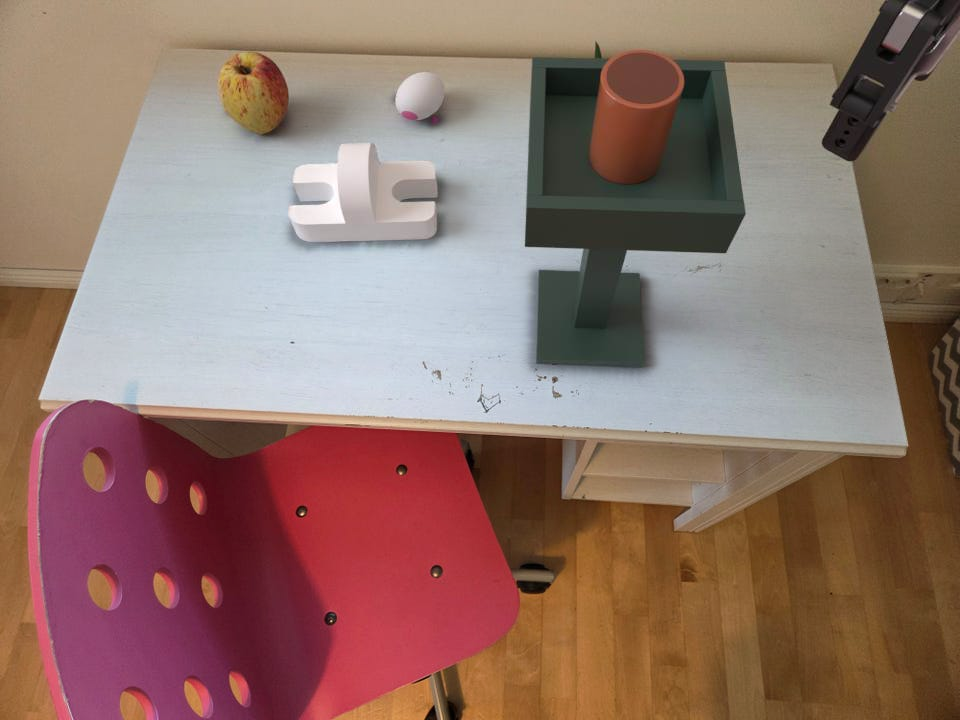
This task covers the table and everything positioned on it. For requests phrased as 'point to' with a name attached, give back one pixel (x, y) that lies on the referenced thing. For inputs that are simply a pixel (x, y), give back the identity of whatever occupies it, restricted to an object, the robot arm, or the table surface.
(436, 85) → the white oval piece
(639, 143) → the cup
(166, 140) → the table surface
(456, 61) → the table surface
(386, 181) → the slotted bracket
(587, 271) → the green pedestal tray
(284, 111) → the apple
